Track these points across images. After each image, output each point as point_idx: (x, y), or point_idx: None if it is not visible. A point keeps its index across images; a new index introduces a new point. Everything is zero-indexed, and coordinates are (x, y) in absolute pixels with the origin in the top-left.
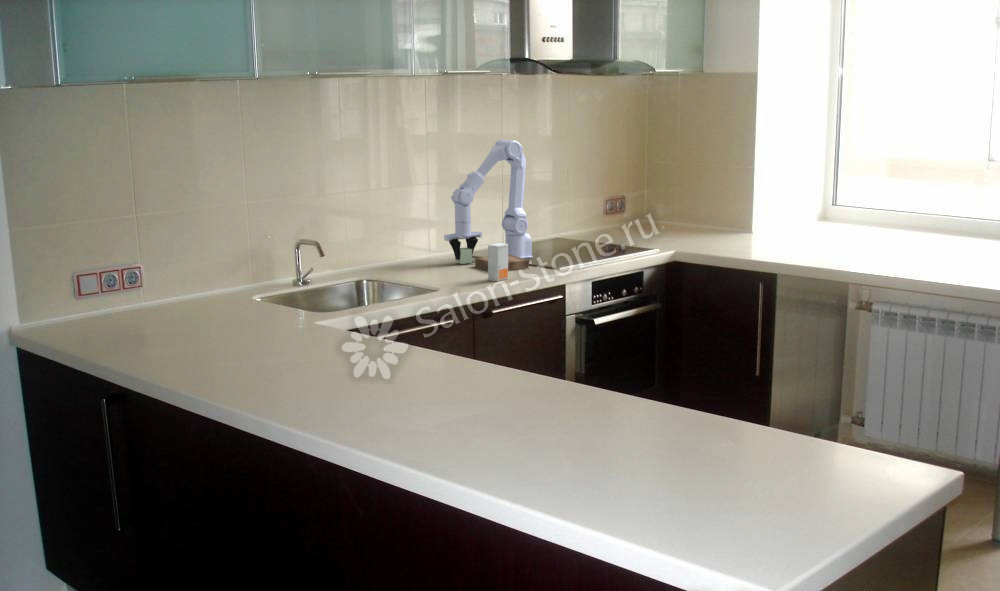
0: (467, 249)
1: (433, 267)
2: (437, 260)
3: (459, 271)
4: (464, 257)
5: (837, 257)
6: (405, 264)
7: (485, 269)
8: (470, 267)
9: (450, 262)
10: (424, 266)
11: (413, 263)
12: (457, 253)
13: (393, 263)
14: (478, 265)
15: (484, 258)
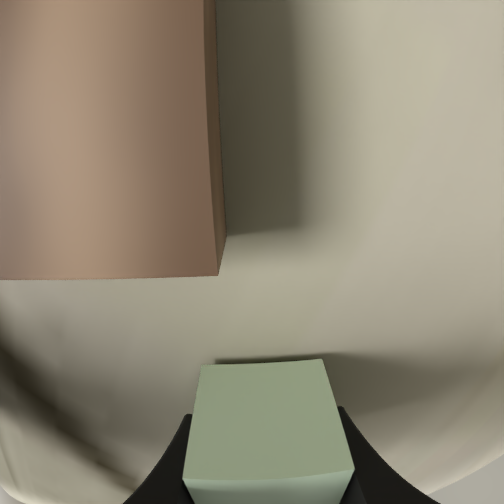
0: (246, 486)
1: (495, 348)
2: None
3: (474, 96)
4: (293, 405)
5: None
6: (490, 438)
7: (215, 10)
8: (304, 208)
9: None
10: (494, 387)
11: (461, 452)
12: (371, 448)
13: (491, 455)
14: (220, 163)
15: (104, 172)
